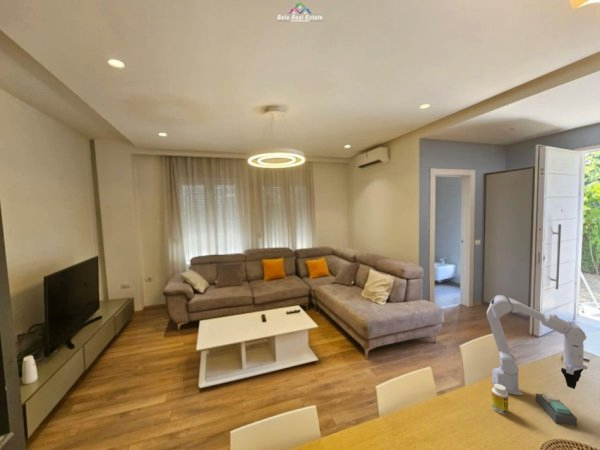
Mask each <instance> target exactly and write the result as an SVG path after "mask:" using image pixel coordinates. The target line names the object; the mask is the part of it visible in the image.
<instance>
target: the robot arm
mask: <svg viewBox="0 0 600 450" xmlns="http://www.w3.org/2000/svg"><path fill="white" fill-rule="evenodd" d="M511 312H512V314H513V313H522V314H524V315H526V316H528V317H531V318H533V319H536V320H538V321H540V322H541V324H542V325H543V326H545V327H547V328H548V329H550V330H553V331H555V332H558V333H559V334H561V335H564V336H563V337H564V338H563V359H562V363H563V365H564V366H565V368H564V367H561V368H560V372H561V373H562V375H563V377H564V379H565V383H566V386H567V387H568V388H570V389H573V390H575V389H576V386H577V383H578V382H579V381H580V378H582V377H581V376H582V375H581V374H582V372H583V371H584V370H585V371H586V370H588V367H589V366H587V365H585V364H584V349H585V347H584V341H586V339H587V335H586V333H585V331H583V329H582V328H581V327H580V326H578V325H577V324H575V323H574V322H571V321H566V320H564V319H562V318H560V317H558V315H557V314H554V313H552V314H551V313H542V312H540V311H538V310H535V309H534V308H533V307H530V306H528V305H526V304H524V303H522V302H520V301H518V300H516V299H514V298H511V297H507V296H506V295H503V294H497V295H495V296H494V297H493V298H492V299H490V303H489V306H488V308H487V310H486V318H487V320H488V324H489V326H490V329H491V333H492V335H493V338H494V341H495V344H496V348H497V349H498V350H497V351H498V354H499V356H498V358H499V361H500V364H499V365H498V367H493V368H492V370H491V372H492V374H491V376H492V377H491V383H492V384H493V385H494V384H501V385H503V386H504V387H505V388H506V392H507V393H508V395H509V394H512V395H517V396H523V395H524V393H522V391H521V390H520V389H519V367H518V365H517V360H516V357H515V356H514V355H513V354H512V352H511V350H510V347H509V344H508V341H507V337H506V336H505V332H504V329H503V327H502V323H501V320H500V318H501V317H503V316H504V315H507V314H509V313H511Z"/></svg>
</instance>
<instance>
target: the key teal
mask: <svg viewBox="0 0 600 450" xmlns="http://www.w3.org/2000/svg"><path fill="white" fill-rule="evenodd" d="M550 406H551V407H552V408H553V409H554V410H555V411H556V412H557V413H561V414H567V415H570V412H571V411H570V409H569V408H568V407H567V406H566V405H565V403H563V402H561V401H560V402H554V401H550Z"/></svg>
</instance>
